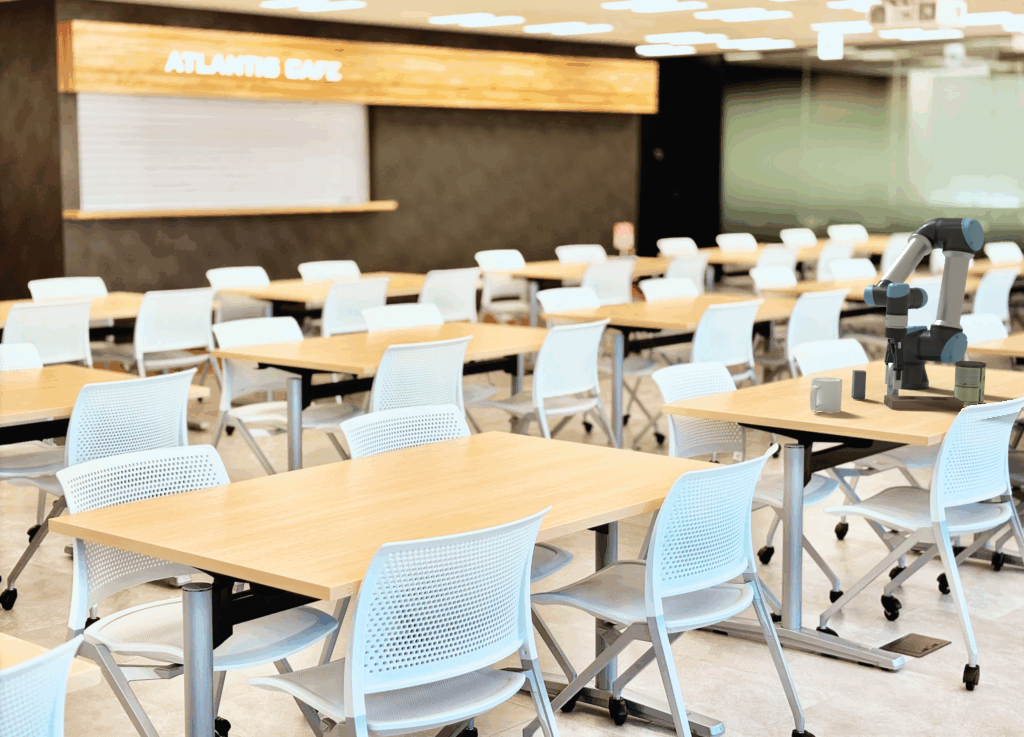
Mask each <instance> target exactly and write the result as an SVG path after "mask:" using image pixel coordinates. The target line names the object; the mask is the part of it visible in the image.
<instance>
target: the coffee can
mask: <svg viewBox="0 0 1024 737" xmlns="http://www.w3.org/2000/svg"><path fill="white" fill-rule="evenodd" d="M954 365H955V371H954V386H953V387H954V390H953V391H954V392H953V397H956V398H958V399H959V400H961V401H963V402H964V405H979V404H978V403H983V404H984V403H985V402H984V401H985V389H986V388H985V386H986V371H987V370H986V368H987V363H986V362H982V361H976V360H970V361H969V360H960V361H958V362H955V363H954Z"/></svg>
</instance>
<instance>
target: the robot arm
mask: <svg viewBox="0 0 1024 737" xmlns="http://www.w3.org/2000/svg"><path fill="white" fill-rule="evenodd" d="M984 236H985V234H984V229H983V226H982V225H981V222H980V221H979V220H977V219H974V218H967V217H935V218H932V219H930V220H928V221H925V222H924V223H923V224H921V225H920V226H919V227H917V228H916V229H915V230H914V231H913V232H912V233H911V234H910V236H909V237H908V239H907V244H906V245H905V247H904V248H903V249H902V251H901V252H900V253H899V254H898V255H897V258H895V259H894V261H893V263H892V264H891V265H890V266H889V268H888V269H887V270H886V272H885V273H884V274H883V275H882V277H881V278H880V280H879V281H878V282H877V283H876V284H869V285H867V286H866V287H865V288H864V291H863V301H864V302H865V304H866V305H867V306H873V307H882V308H883V307H884V308H885V307H886V311H885V317H884V318H883V319H884V321H885V326H886V327H884V337H885V338H886V339H887V344H886V351H885V356H884V362H883V363H884V364H885V369H884V370H885V374H884V384H885V385H887V381H888V363H894V366H895V368H893V371H894V378H893V389H899V390H902V389H908V390H909V389H910V390H921V389H928V388H929V386H930V380H929V376H928V373H927V368H926V362H934V363H943V364H955V362H958V361H962V359H963V358H964V356H965V354H966V352H967V349H968V344H969V342H968V336H967V334H965V332H963V331H964V327H963V326H962V325H961V318H962V311H963V310H962V309H963V304H964V298H965V291H966V286H967V281H968V272H969V267H970V266H969V265H970V261H971V259H973V258H974V257H975V255H976V252H978V251H980V250H981V249H982V247H983V245H984V242H985V240H984V239H985V237H984ZM937 249H939V250H941V253H942V254H943V256H944V257H945V258H944V265H943V269H942V270H943V272H942V278H941V284H940V285H941V286H940V291H939V296H938V297H939V298H938V304H937V309H936V316H935V321H934V322H932V323H931V324H930V328H928V326H927V325H910V326H909V323H908V322H909V310H918V309H922V308H923V307H925V306H926V305H927V303H928V301H929V295H928V293H927V291H926V290H925V289H924V288H921V287H918V286H917V287H915V286H914V287H910V284H908V283H905V282H906V280H908V278H909V277H910V276H911V274H912V273H913V271H915V269H916V267H918V265H919V264H920V263H921V261H922V260H923V259H924V256H928V255H929V254H930V253H931V252H933V251H934V250H937Z"/></svg>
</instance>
